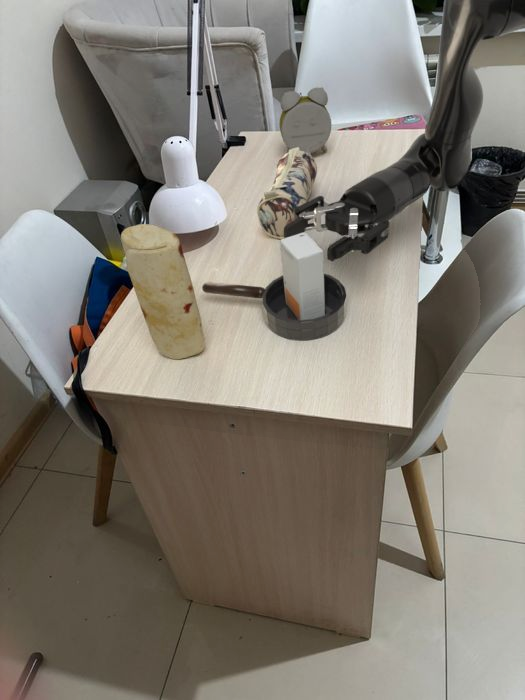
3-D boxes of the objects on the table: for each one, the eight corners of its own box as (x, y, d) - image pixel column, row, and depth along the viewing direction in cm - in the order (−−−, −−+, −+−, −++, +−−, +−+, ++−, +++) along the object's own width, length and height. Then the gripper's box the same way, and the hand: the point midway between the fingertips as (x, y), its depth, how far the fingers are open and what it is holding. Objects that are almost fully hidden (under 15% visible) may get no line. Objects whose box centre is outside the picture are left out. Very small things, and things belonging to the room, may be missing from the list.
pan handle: (268, 294, 81) (266, 285, 80) (264, 301, 80) (263, 292, 79) (205, 288, 84) (203, 279, 83) (201, 294, 83) (199, 285, 82)
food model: (217, 341, 78) (191, 225, 64) (192, 370, 74) (158, 252, 60) (167, 325, 82) (132, 212, 68) (140, 351, 78) (98, 237, 64)
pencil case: (302, 241, 96) (299, 193, 89) (258, 240, 98) (252, 192, 91) (318, 187, 111) (317, 142, 104) (280, 187, 113) (276, 143, 106)
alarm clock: (328, 148, 125) (327, 82, 115) (333, 160, 120) (333, 91, 110) (281, 155, 125) (276, 89, 115) (284, 166, 120) (279, 99, 110)
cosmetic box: (284, 304, 82) (278, 239, 74) (308, 295, 83) (305, 230, 75) (301, 325, 78) (296, 259, 70) (326, 316, 79) (324, 250, 70)
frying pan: (352, 292, 83) (352, 274, 81) (337, 345, 74) (337, 327, 72) (276, 285, 87) (274, 267, 84) (254, 335, 78) (251, 317, 76)
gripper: (342, 165, 82) (269, 206, 75) (418, 189, 74) (345, 238, 66) (342, 208, 87) (274, 250, 80) (413, 235, 79) (345, 284, 72)
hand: (306, 244), depth 73 cm, fingers open, 8 cm apart
